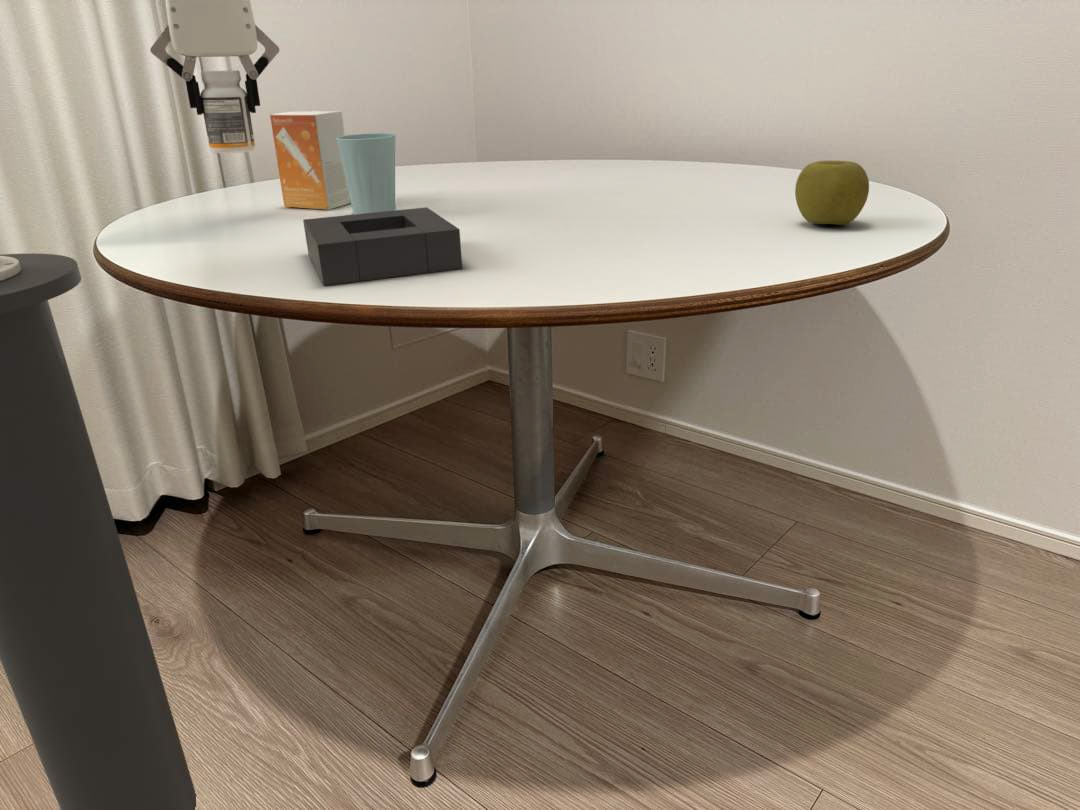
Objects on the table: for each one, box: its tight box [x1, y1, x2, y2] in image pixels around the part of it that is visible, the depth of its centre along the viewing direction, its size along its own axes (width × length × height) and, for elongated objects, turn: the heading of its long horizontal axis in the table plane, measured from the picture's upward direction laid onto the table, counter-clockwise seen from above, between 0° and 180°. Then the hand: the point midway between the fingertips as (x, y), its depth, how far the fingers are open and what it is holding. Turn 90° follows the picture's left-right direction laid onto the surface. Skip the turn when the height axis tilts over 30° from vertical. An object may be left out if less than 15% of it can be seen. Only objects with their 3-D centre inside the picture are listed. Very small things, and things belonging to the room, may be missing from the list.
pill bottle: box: [200, 70, 256, 154], centre depth 103 cm, size 6×6×10 cm
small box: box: [269, 110, 351, 211], centre depth 114 cm, size 8×6×13 cm
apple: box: [794, 160, 870, 226], centre depth 91 cm, size 8×8×7 cm
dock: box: [302, 206, 463, 287], centre depth 83 cm, size 14×14×4 cm
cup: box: [336, 132, 396, 215], centre depth 106 cm, size 8×8×10 cm
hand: (226, 111), depth 103 cm, fingers closed on pill bottle, 5 cm apart
